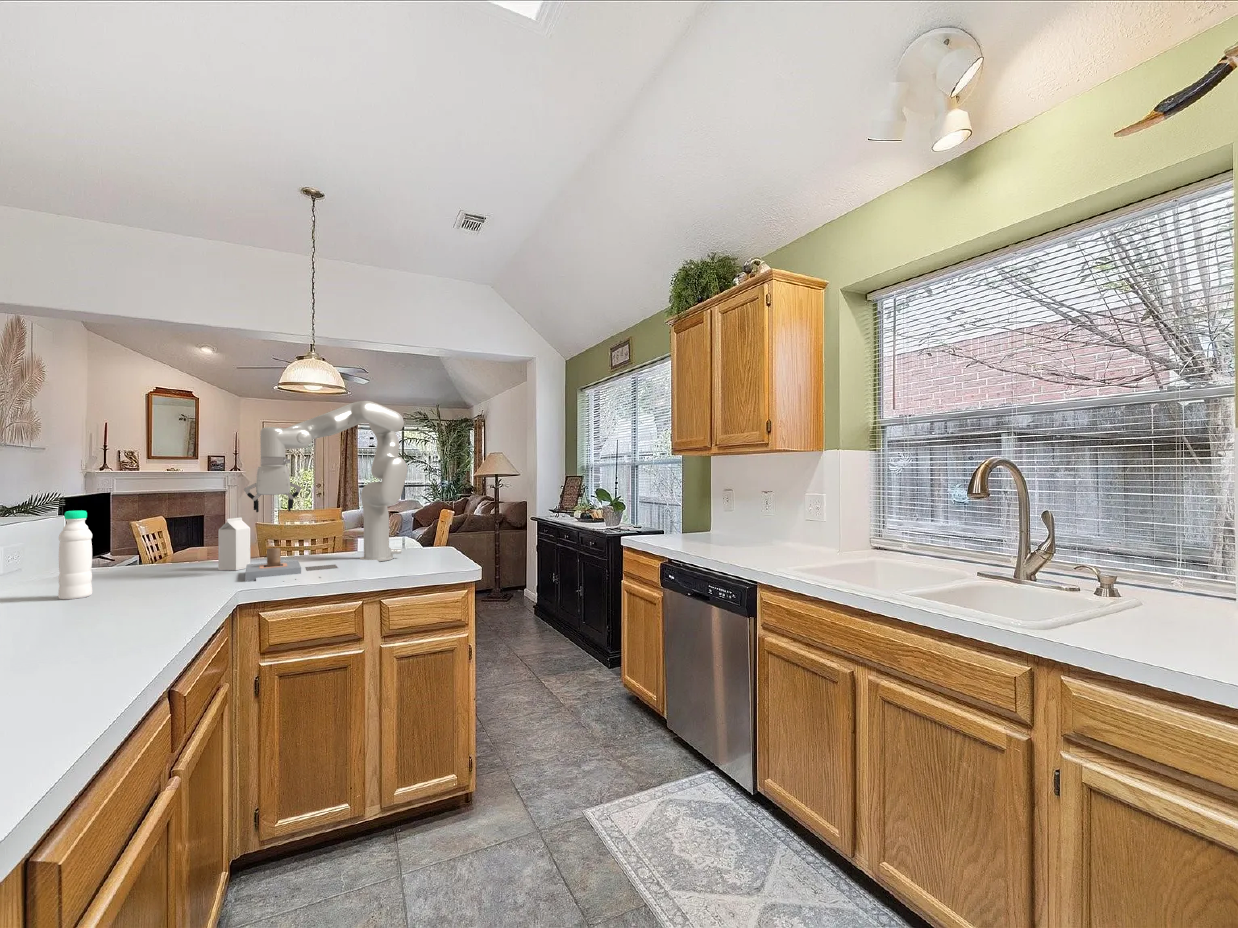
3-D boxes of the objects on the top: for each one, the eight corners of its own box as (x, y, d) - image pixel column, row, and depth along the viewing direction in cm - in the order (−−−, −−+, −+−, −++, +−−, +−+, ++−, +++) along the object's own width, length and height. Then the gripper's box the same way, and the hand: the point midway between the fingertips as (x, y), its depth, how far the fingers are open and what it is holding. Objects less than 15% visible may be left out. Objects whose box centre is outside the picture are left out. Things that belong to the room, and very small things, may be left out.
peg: (280, 573, 202) (280, 547, 202) (280, 574, 198) (280, 548, 198) (267, 574, 199) (267, 548, 200) (267, 576, 196) (267, 549, 196)
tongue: (335, 567, 214) (335, 564, 214) (338, 570, 205) (338, 567, 205) (305, 569, 208) (305, 567, 208) (306, 573, 200) (306, 570, 200)
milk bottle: (97, 595, 166) (98, 510, 167) (68, 600, 160) (68, 511, 160) (82, 594, 169) (82, 509, 169) (52, 599, 162) (52, 511, 162)
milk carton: (250, 567, 215) (250, 517, 215) (236, 570, 208) (236, 518, 208) (233, 567, 216) (233, 517, 216) (218, 570, 209) (218, 518, 209)
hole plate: (298, 568, 212) (298, 559, 212) (301, 576, 195) (301, 566, 195) (246, 572, 203) (246, 563, 203) (245, 581, 186) (245, 571, 186)
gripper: (300, 462, 207) (301, 509, 207) (243, 462, 198) (244, 512, 198) (302, 462, 201) (302, 510, 201) (243, 462, 192) (243, 513, 191)
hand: (273, 511), depth 199 cm, fingers open, 9 cm apart
